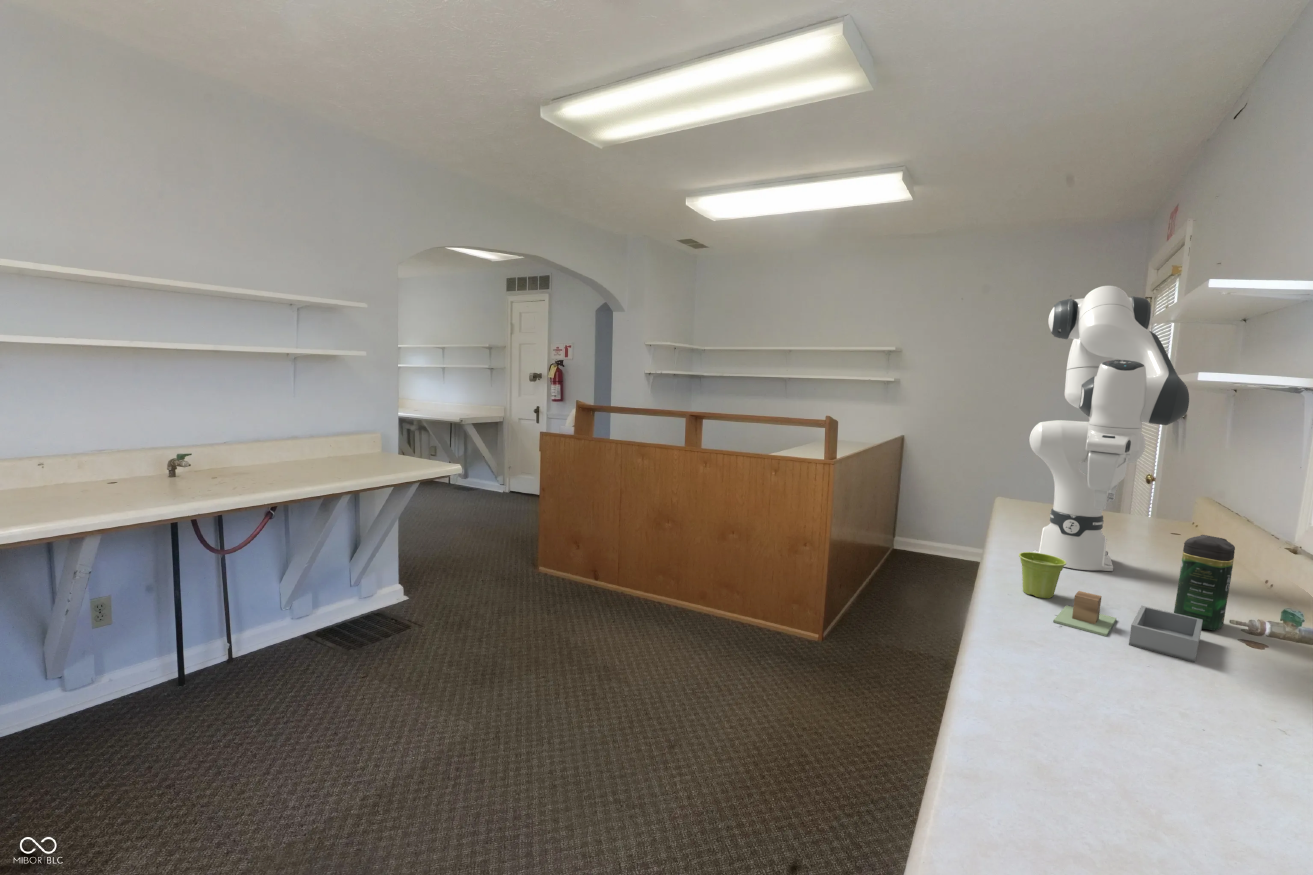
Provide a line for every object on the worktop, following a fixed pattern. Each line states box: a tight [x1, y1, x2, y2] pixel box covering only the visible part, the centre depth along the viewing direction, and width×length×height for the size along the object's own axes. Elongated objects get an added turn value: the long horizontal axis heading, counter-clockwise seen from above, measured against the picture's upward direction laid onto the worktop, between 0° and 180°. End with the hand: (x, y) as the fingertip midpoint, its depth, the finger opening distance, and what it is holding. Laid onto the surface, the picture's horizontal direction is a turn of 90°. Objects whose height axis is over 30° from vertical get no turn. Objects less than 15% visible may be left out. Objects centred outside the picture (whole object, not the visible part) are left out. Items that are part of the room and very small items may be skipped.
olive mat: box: [1052, 605, 1117, 637], centre depth 129 cm, size 12×9×1 cm
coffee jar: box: [1173, 534, 1236, 631], centre depth 129 cm, size 10×8×19 cm
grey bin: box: [1128, 605, 1203, 663], centre depth 120 cm, size 15×10×4 cm, turn 136°
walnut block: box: [1072, 590, 1102, 624], centre depth 129 cm, size 4×4×5 cm
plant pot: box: [1018, 551, 1066, 599], centre depth 144 cm, size 9×9×9 cm
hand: (1104, 505), depth 130 cm, fingers open, 8 cm apart
